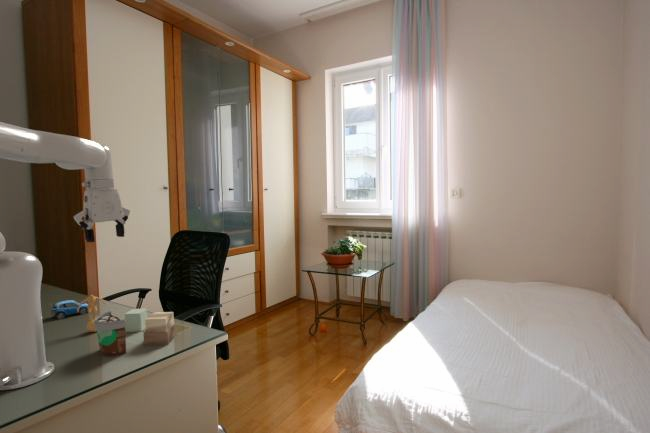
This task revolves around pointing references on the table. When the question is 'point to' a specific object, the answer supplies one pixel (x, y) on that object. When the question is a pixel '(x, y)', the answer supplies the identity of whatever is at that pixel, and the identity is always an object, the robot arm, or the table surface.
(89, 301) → the figurine
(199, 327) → the table surface
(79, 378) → the table surface
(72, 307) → the toy car
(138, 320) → the green block
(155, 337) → the walnut block
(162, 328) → the birch block
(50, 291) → the table surface
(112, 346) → the food container
